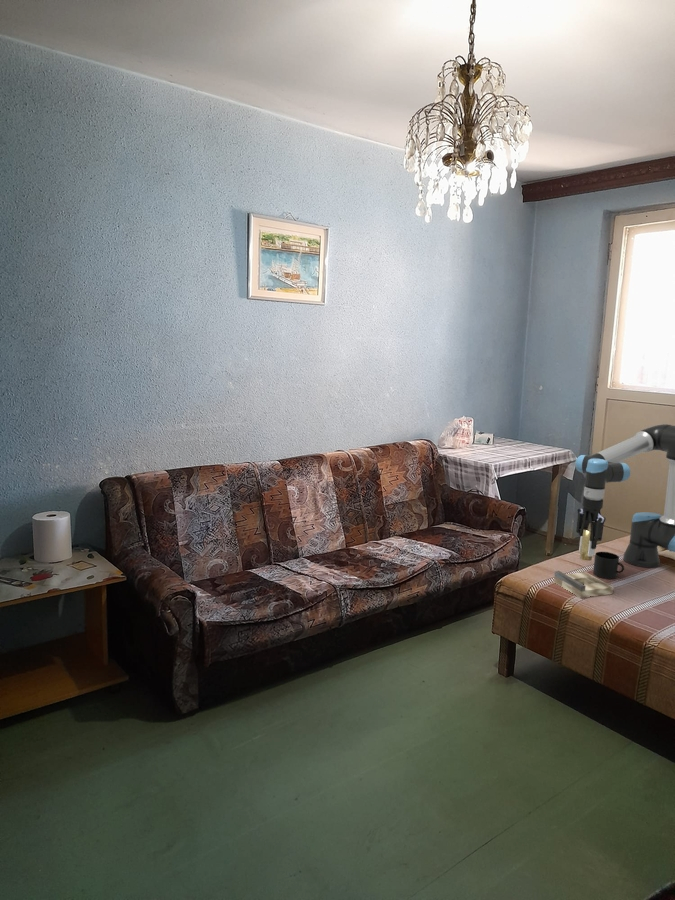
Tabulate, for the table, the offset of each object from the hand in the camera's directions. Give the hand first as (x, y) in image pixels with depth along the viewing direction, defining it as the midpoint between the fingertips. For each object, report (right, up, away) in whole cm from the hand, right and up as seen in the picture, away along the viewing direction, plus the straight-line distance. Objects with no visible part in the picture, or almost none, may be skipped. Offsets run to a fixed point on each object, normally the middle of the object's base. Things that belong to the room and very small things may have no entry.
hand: (586, 553), depth 257 cm
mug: (+16, -13, +17) cm, 26 cm away
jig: (0, -15, +3) cm, 15 cm away
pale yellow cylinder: (0, -2, 0) cm, 2 cm away
